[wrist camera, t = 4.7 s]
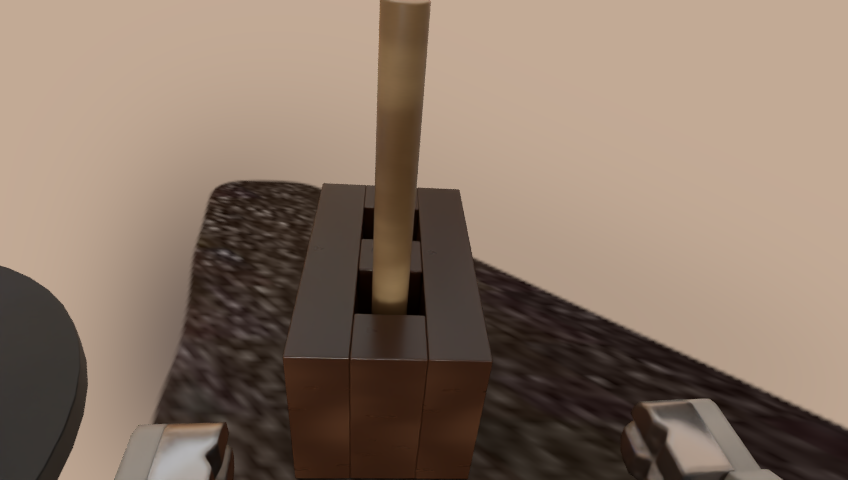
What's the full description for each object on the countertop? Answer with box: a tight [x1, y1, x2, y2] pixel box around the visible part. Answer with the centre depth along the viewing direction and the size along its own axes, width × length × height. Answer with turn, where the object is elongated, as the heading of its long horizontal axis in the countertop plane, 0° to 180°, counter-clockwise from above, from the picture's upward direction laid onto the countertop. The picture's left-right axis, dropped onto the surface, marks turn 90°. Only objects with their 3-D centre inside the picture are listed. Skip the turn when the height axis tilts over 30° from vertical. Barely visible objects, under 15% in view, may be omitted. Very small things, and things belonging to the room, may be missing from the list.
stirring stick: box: [371, 0, 431, 315], centre depth 23 cm, size 2×2×20 cm
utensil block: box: [283, 183, 493, 479], centre depth 28 cm, size 8×14×8 cm, turn 2°
